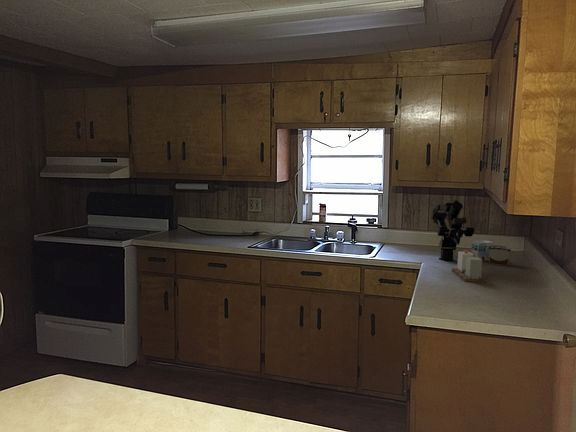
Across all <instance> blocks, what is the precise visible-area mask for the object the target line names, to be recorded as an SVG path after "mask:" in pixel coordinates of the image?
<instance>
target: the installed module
mask: <svg viewBox="0 0 576 432" xmlns="http://www.w3.org/2000/svg"><path fill="white" fill-rule="evenodd" d="M482 267H483V261H482V259H480V258H478V257H467V259H466V274H465V275H466V276H468V277H469V278H471V277H479V278H481V276H482V271H483V269H482Z"/></svg>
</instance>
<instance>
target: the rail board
mask: <svg viewBox="0 0 576 432" xmlns="http://www.w3.org/2000/svg"><path fill="white" fill-rule="evenodd" d="M451 272H452V273H453V274H455V275H456V276H457V277H459V279H461V280H462V281H463V282H467V283H468V282H471V283H473V282H474V283H475V282H476V283H479V282H480V283H486V280H487V278H485V277H484V276H482V275H481V278H479V277H471V278H469V277H468V276H466V275H465V274H466V270H463V272H461V271H460V270H459V269H457V267H452V268H451Z"/></svg>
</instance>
